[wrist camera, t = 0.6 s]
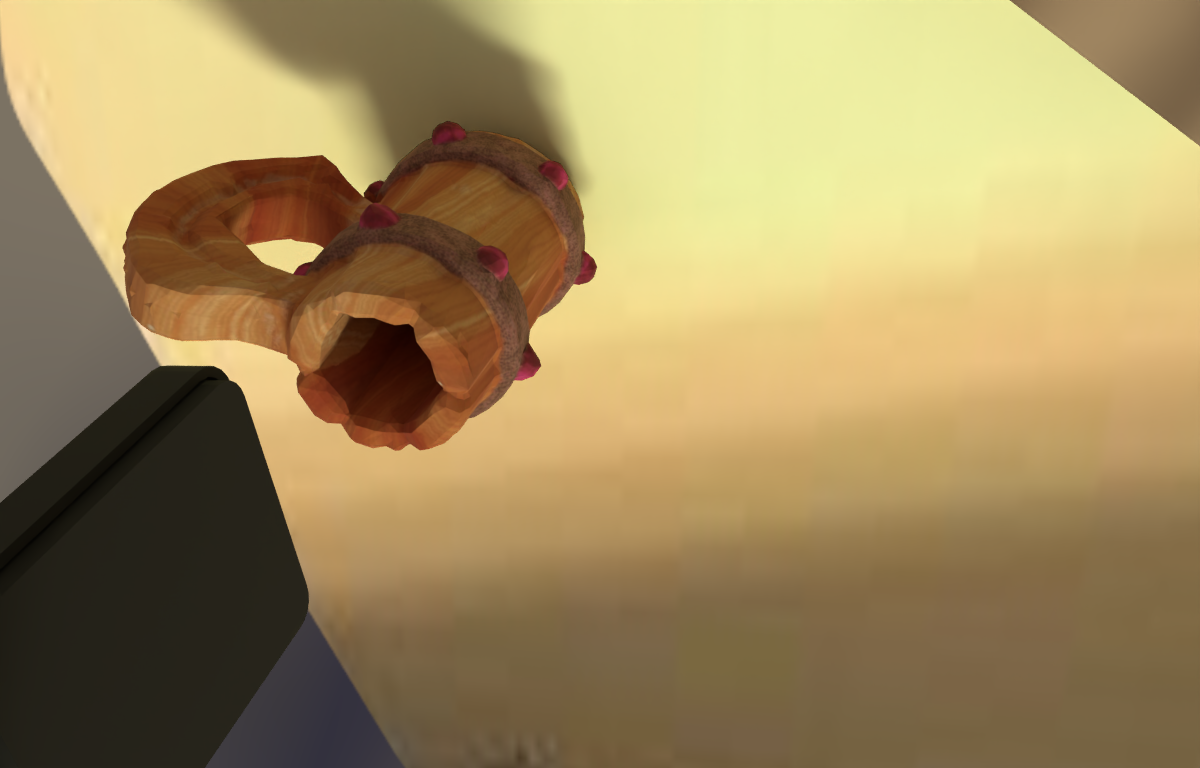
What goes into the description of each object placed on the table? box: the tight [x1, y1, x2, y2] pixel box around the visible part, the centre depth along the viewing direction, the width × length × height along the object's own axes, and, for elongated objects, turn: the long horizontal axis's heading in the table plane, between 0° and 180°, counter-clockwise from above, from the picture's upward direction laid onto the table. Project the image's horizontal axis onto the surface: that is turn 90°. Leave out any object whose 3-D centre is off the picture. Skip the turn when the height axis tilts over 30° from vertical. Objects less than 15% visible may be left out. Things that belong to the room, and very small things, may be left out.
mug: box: [123, 121, 597, 451], centre depth 42 cm, size 15×8×15 cm, turn 73°
